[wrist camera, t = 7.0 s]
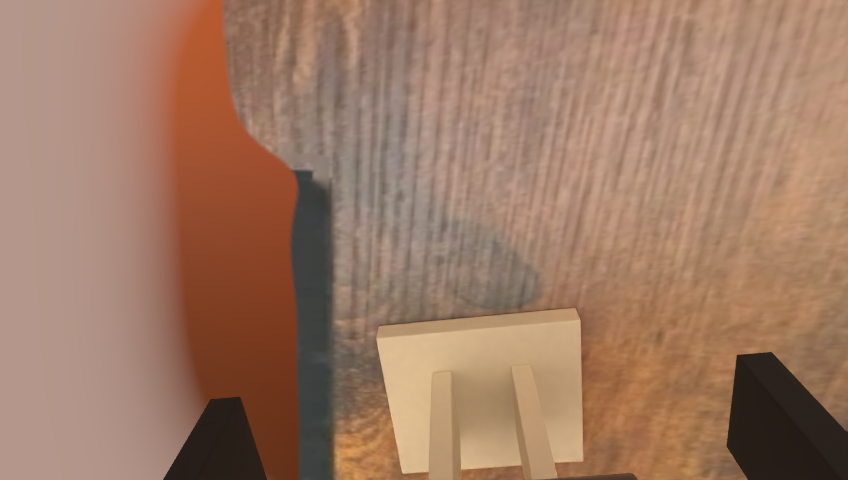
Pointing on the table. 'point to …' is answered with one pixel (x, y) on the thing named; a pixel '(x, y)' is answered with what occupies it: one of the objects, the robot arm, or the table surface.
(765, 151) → the table surface
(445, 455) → the bracket
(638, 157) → the table surface
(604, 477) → the lever
